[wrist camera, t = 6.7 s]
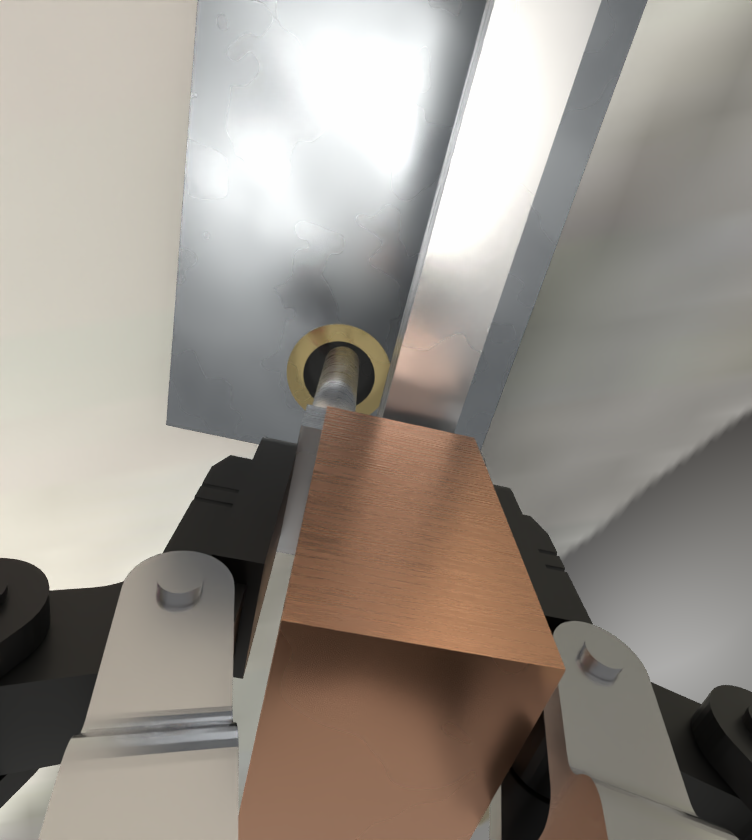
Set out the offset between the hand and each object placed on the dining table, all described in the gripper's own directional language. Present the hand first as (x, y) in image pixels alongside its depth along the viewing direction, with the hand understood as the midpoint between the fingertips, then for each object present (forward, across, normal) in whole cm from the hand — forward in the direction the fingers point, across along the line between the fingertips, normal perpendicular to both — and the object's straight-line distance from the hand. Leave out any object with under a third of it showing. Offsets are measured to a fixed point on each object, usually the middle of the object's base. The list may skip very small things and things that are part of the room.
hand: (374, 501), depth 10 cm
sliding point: (+8, 0, 0) cm, 8 cm away
